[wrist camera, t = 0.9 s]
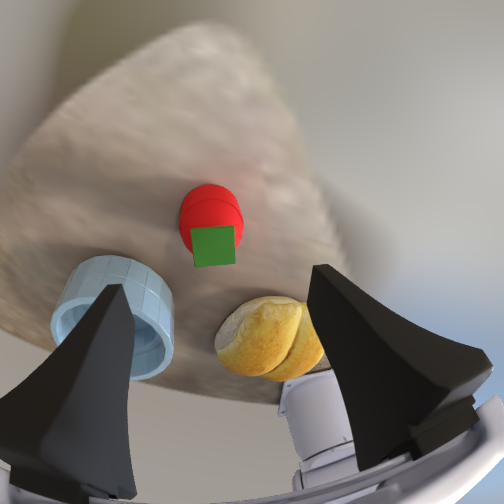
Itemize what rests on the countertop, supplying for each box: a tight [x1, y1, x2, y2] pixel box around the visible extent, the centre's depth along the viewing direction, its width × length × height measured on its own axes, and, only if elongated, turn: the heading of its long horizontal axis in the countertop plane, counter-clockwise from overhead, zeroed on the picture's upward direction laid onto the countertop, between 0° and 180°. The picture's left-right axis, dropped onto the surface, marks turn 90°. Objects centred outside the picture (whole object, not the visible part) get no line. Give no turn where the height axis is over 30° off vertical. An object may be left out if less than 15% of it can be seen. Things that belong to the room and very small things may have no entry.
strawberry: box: [179, 185, 243, 267], centre depth 15 cm, size 3×3×4 cm
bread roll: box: [214, 296, 324, 382], centre depth 22 cm, size 8×9×4 cm
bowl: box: [50, 255, 174, 381], centre depth 17 cm, size 8×8×4 cm
